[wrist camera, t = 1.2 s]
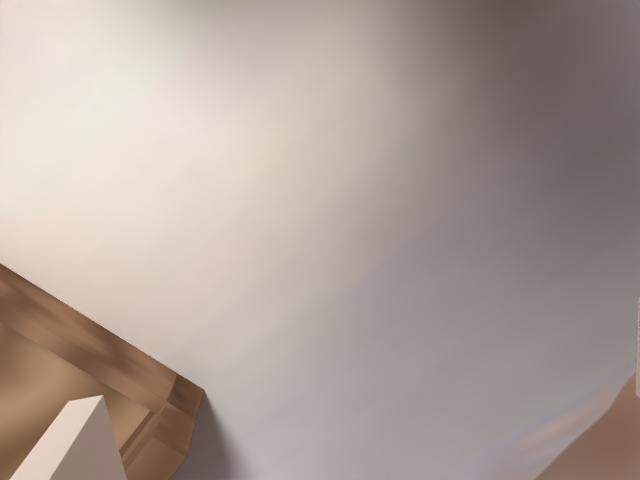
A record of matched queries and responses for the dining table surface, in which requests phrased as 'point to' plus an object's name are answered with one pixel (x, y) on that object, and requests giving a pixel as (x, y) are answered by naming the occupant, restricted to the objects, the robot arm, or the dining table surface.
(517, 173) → the dining table surface
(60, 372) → the wooden tray
